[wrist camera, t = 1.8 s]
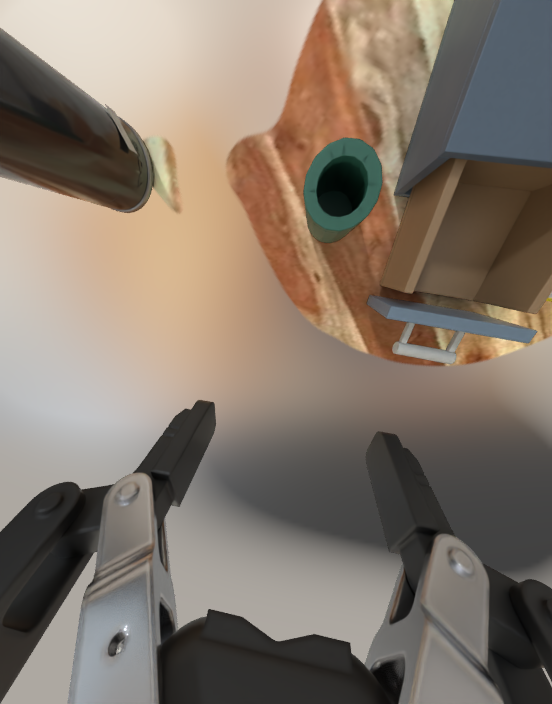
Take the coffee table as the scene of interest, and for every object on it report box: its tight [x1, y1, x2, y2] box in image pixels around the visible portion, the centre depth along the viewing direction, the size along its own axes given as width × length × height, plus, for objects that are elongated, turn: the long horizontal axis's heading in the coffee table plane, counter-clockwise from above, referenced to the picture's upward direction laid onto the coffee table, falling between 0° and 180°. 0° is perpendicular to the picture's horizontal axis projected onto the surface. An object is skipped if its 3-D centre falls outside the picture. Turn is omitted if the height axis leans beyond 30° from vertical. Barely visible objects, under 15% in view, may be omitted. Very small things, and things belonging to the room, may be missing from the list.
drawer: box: [367, 158, 552, 364], centre depth 20 cm, size 18×12×8 cm
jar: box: [303, 138, 382, 243], centre depth 20 cm, size 6×6×10 cm
